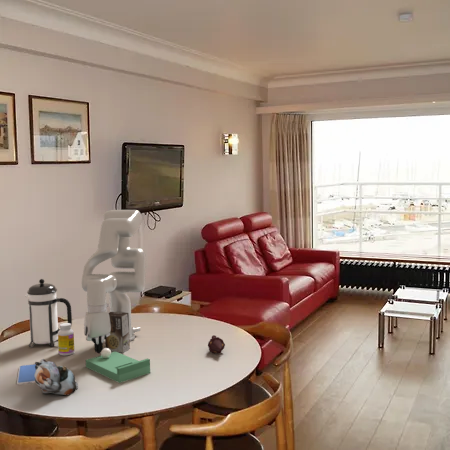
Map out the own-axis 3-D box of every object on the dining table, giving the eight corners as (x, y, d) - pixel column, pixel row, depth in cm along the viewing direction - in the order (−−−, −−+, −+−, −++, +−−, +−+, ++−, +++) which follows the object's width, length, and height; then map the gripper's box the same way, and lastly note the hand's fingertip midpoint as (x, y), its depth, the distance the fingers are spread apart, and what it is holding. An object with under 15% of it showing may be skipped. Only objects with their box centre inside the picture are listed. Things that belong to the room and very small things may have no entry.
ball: (107, 355, 230) (107, 345, 229) (113, 357, 227) (112, 348, 226) (99, 357, 227) (98, 348, 226) (104, 360, 224) (104, 350, 223)
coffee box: (130, 348, 248) (129, 312, 246) (123, 353, 242) (122, 316, 240) (112, 346, 251) (111, 311, 249) (104, 351, 244) (103, 314, 243)
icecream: (230, 342, 234) (222, 334, 248) (213, 339, 232) (206, 332, 247) (226, 358, 233) (218, 350, 248) (209, 355, 232) (202, 347, 246)
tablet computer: (52, 382, 211) (51, 378, 211) (16, 386, 208) (16, 382, 208) (51, 365, 230) (51, 362, 230) (19, 368, 226) (19, 365, 226)
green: (115, 358, 235) (115, 345, 234) (150, 372, 218) (149, 359, 217) (85, 367, 225) (85, 354, 224) (119, 382, 208) (119, 368, 207)
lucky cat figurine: (80, 394, 198) (63, 366, 191) (48, 411, 195) (30, 384, 189) (74, 369, 211) (58, 342, 204) (44, 384, 208) (26, 358, 201)
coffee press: (36, 351, 245) (33, 284, 242) (22, 343, 257) (18, 279, 253) (73, 343, 256) (70, 278, 253) (58, 335, 268) (55, 273, 265)
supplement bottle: (70, 356, 238) (68, 326, 237) (55, 355, 240) (54, 326, 238) (77, 351, 245) (76, 322, 243) (63, 350, 246) (62, 321, 245)
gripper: (107, 303, 236) (109, 346, 238) (75, 310, 226) (77, 354, 228) (117, 306, 231) (119, 349, 233) (85, 313, 221) (87, 358, 222)
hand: (98, 352), depth 230 cm, fingers closed
